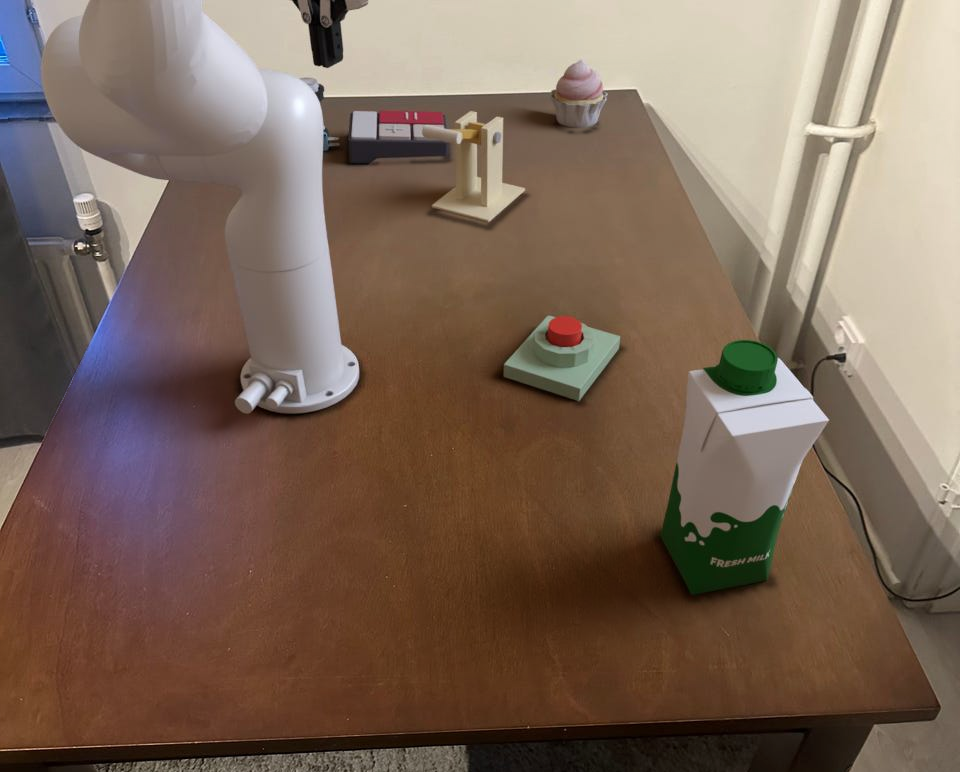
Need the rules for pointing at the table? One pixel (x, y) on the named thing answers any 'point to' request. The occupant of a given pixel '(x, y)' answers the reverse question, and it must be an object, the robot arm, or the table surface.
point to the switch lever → (455, 133)
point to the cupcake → (578, 96)
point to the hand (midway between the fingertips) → (328, 62)
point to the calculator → (393, 135)
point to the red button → (564, 331)
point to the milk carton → (737, 466)
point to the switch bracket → (488, 191)
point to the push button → (319, 91)
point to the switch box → (562, 361)
